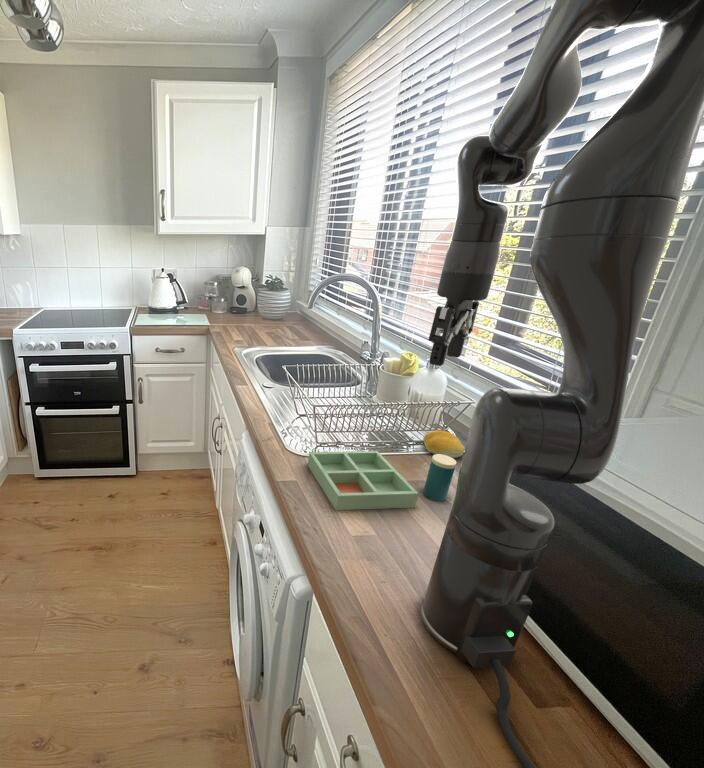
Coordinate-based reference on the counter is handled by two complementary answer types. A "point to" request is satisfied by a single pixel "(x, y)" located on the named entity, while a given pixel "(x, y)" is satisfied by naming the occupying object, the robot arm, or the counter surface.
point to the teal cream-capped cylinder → (439, 477)
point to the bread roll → (443, 444)
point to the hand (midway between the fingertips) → (444, 360)
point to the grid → (361, 480)
